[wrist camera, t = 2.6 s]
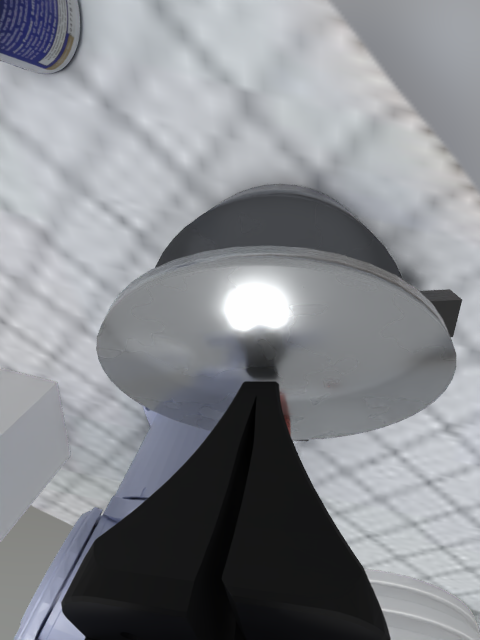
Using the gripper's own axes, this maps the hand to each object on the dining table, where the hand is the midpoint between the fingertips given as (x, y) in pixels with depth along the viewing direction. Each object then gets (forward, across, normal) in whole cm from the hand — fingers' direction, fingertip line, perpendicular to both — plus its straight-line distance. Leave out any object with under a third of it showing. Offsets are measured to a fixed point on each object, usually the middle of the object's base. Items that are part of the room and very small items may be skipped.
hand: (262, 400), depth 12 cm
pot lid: (+2, 0, 0) cm, 2 cm away
